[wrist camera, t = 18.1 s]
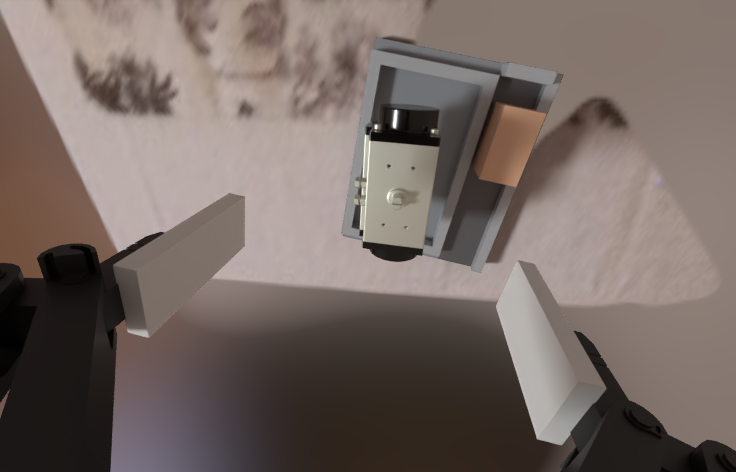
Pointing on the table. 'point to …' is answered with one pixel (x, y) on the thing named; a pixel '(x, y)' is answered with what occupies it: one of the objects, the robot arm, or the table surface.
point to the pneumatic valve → (398, 180)
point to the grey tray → (450, 137)
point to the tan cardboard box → (507, 143)
